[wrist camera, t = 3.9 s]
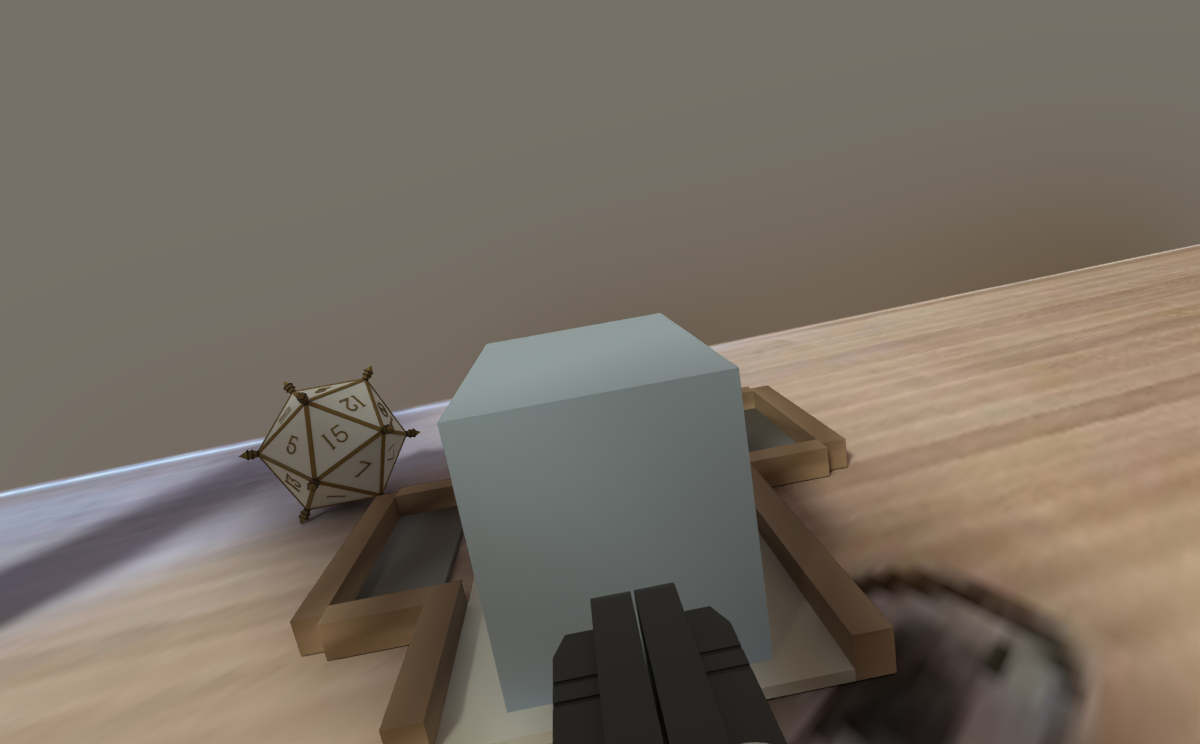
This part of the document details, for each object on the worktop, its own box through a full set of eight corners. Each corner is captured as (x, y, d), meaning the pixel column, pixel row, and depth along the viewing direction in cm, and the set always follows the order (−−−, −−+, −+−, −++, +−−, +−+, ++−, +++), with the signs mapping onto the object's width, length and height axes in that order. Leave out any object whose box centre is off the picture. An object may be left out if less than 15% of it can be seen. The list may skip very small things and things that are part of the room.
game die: (338, 563, 38) (238, 443, 39) (447, 473, 41) (353, 366, 42) (312, 552, 30) (187, 402, 31) (451, 442, 33) (334, 310, 34)
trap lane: (206, 813, 17) (188, 768, 16) (426, 448, 45) (421, 429, 45) (1068, 637, 17) (1068, 591, 17) (747, 389, 46) (744, 370, 46)
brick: (507, 712, 18) (437, 422, 16) (525, 524, 29) (486, 344, 27) (773, 659, 18) (738, 367, 16) (686, 493, 30) (660, 313, 28)
